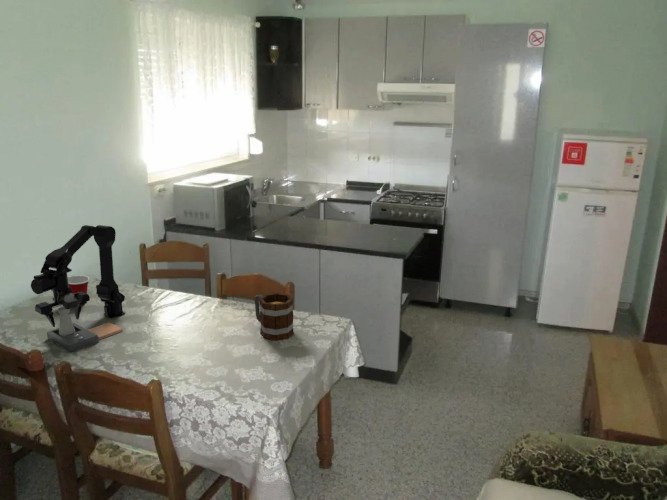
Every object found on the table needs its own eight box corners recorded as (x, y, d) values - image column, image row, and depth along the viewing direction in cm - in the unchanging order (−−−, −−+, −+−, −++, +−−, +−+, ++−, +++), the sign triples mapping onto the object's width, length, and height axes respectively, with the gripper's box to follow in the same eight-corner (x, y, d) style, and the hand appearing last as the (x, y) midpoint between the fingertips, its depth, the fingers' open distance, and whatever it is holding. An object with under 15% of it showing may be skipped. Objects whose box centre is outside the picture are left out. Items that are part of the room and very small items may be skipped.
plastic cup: (86, 308, 243) (82, 282, 239) (62, 307, 243) (58, 282, 240) (96, 299, 253) (93, 274, 250) (73, 298, 253) (70, 274, 250)
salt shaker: (69, 341, 211) (64, 310, 207) (56, 340, 212) (51, 309, 208) (79, 335, 216) (74, 304, 212) (66, 334, 217) (61, 303, 213)
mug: (300, 333, 219) (300, 298, 215) (275, 344, 210) (274, 308, 206) (269, 319, 232) (268, 286, 228) (243, 329, 223) (242, 295, 218)
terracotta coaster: (109, 324, 226) (109, 322, 226) (122, 331, 220) (122, 328, 220) (86, 332, 219) (85, 330, 218) (99, 339, 213) (99, 337, 212)
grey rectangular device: (75, 329, 221) (74, 322, 220) (98, 342, 210) (97, 334, 209) (47, 339, 213) (46, 331, 212) (70, 352, 202) (69, 344, 201)
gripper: (45, 297, 196) (51, 336, 200) (94, 283, 210) (99, 320, 214) (31, 290, 203) (37, 328, 207) (80, 277, 217) (84, 313, 221)
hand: (65, 323), depth 212 cm, fingers open, 9 cm apart
